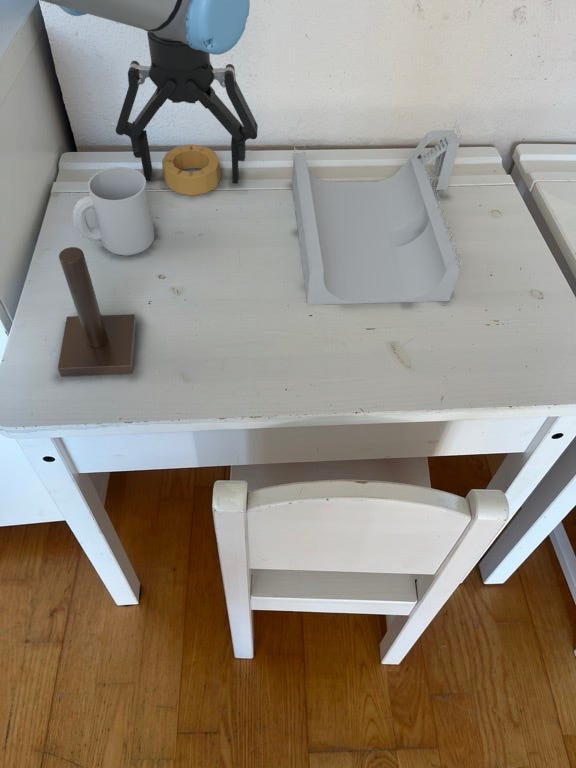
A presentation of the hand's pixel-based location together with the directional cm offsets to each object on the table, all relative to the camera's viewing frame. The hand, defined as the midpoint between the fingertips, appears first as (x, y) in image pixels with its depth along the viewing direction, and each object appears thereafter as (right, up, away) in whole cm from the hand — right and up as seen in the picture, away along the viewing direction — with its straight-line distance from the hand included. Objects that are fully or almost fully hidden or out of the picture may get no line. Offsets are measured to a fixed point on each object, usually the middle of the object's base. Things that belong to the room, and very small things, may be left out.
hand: (192, 176), depth 95 cm
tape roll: (0, 0, 0) cm, 0 cm away
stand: (-8, -27, -21) cm, 35 cm away
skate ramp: (+27, -11, -7) cm, 30 cm away
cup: (-9, -12, -9) cm, 17 cm away
